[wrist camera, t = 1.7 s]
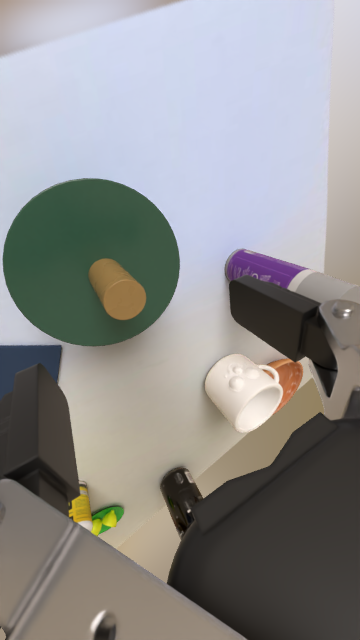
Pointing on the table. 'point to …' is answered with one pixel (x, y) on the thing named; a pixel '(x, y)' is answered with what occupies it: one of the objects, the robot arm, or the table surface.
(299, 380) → the saucer
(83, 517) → the supplement bottle
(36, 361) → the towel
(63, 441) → the robot arm
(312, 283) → the container
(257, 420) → the mug
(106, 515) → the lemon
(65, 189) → the lid
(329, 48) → the table surface
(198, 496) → the beverage can
